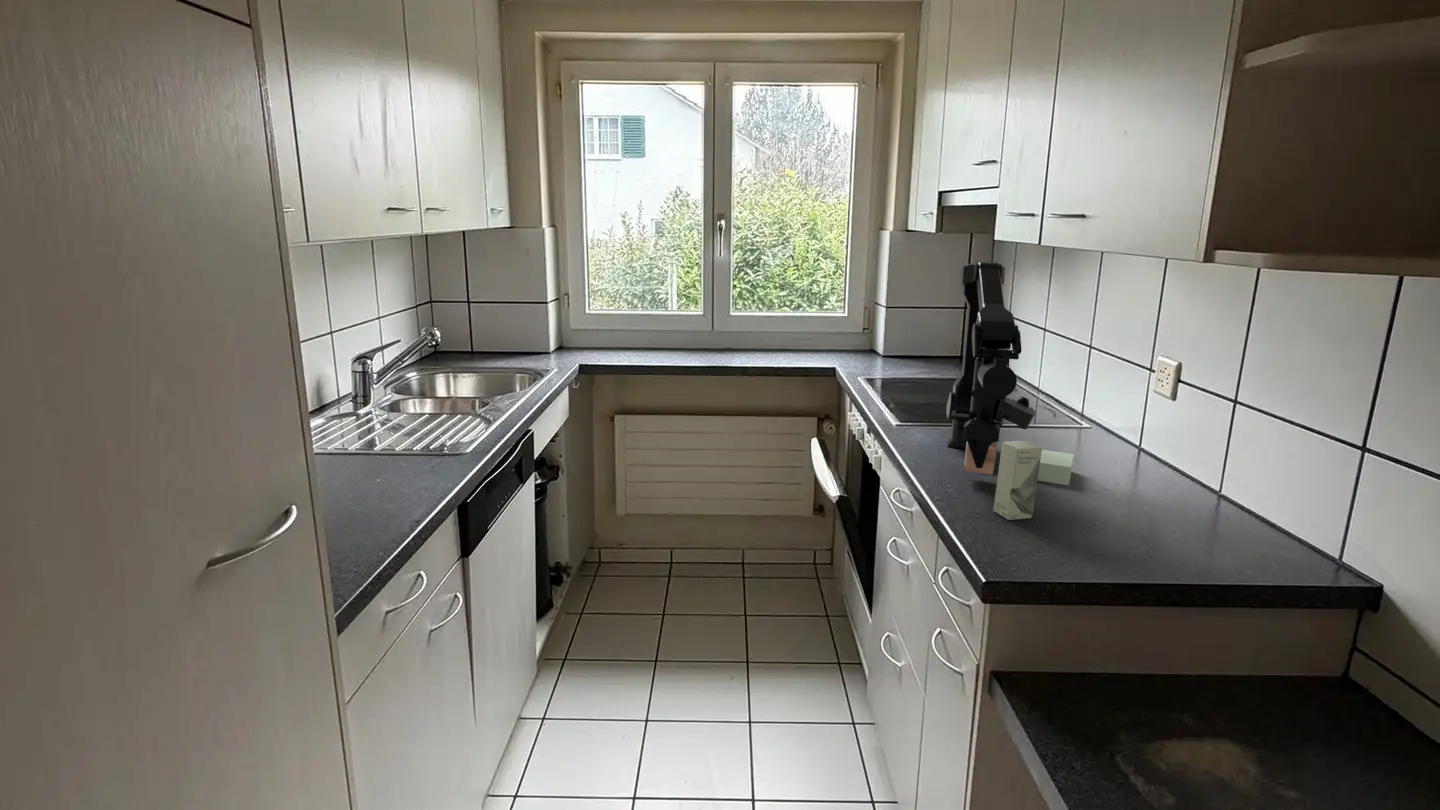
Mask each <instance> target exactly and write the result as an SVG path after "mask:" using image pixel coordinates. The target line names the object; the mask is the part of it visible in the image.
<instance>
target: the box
mask: <svg viewBox="0 0 1440 810" xmlns="http://www.w3.org/2000/svg"><path fill="white" fill-rule="evenodd" d="M1042 450H1043V447H1042V446H1040V445H1037V444H1036V443H1033V442H1032V441H1029V440H1012V441H1011V440H1010V441H1003V442H1002V443H1001V450H1000V456H999V457H1000V459H999V465H998V472H997V473H998V474H997V481H996V488H995V495H994V500H993V501H994V502H993V509H992V510H993V512H995V513H996V514H997V515H1000V516H1001V517H1002V518H1005V519H1006V520H1008V521H1011V520H1013V521H1014V520H1023V519H1024V520H1025V519H1026V520H1027V519H1032V518H1033V514H1034V507H1035V502H1036V501H1035V500H1036V494H1037V493H1036V492H1037V487H1038V486H1037V485H1038V473H1039V467H1040V460H1041V453H1042Z"/></svg>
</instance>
